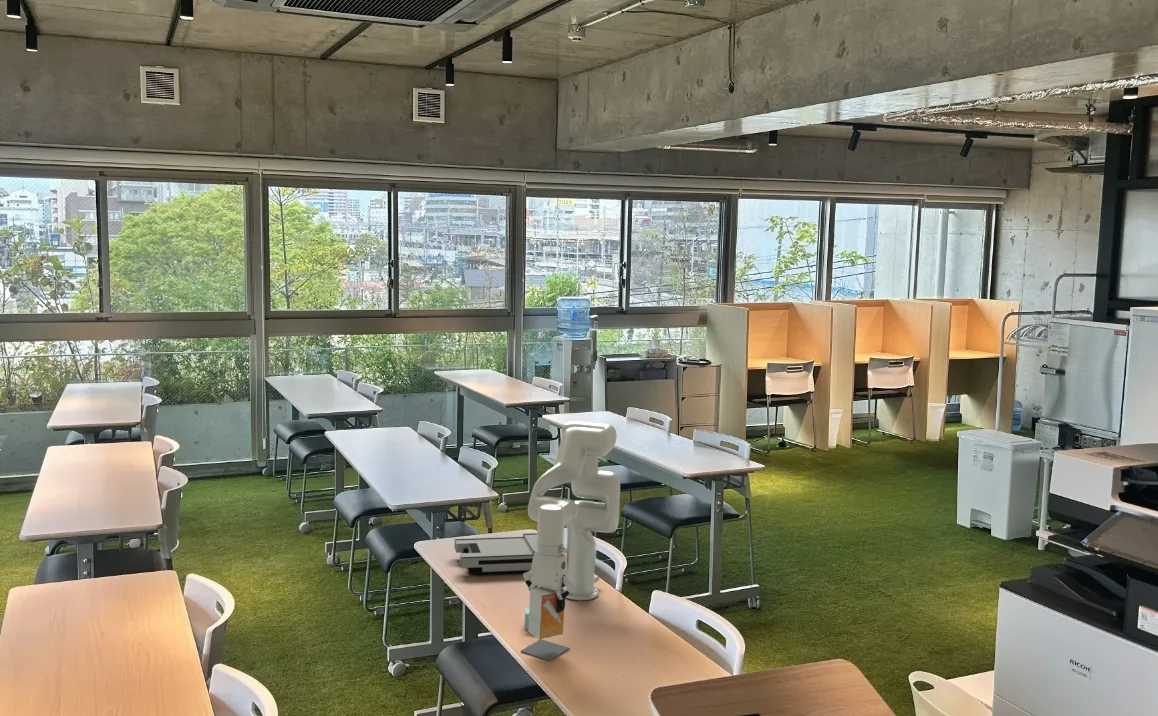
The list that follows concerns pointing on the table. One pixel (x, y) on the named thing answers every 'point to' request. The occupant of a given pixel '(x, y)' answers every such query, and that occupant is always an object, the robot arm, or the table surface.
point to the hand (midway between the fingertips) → (547, 607)
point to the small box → (544, 613)
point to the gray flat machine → (497, 554)
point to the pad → (545, 650)
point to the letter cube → (527, 618)
